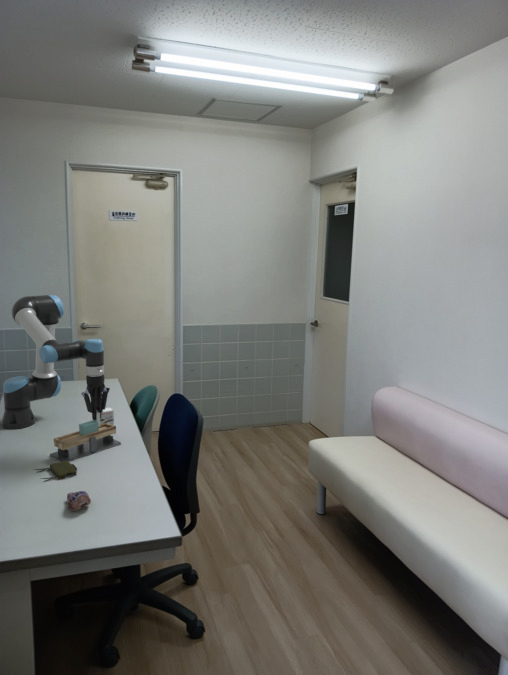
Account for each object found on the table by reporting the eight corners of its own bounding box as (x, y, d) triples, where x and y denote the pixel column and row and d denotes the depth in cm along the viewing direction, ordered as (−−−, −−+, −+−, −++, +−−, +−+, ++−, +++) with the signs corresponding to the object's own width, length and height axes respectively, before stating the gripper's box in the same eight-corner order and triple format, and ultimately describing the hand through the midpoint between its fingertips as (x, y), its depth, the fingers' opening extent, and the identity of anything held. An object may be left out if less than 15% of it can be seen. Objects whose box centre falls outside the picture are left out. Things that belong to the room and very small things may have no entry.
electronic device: (81, 469, 197) (40, 479, 188) (81, 475, 197) (41, 486, 188) (69, 457, 208) (31, 466, 199) (69, 463, 208) (31, 472, 199)
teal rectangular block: (79, 435, 220) (78, 424, 219) (93, 430, 225) (93, 420, 224) (84, 437, 217) (84, 426, 216) (98, 432, 223) (98, 422, 222)
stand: (49, 456, 214) (49, 440, 213) (106, 438, 236) (106, 423, 234) (63, 463, 207) (63, 447, 206) (120, 444, 229) (120, 429, 227)
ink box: (96, 436, 237) (95, 412, 235) (93, 433, 242) (92, 409, 240) (114, 433, 242) (114, 409, 240) (111, 430, 246) (110, 406, 244)
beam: (53, 445, 213) (53, 438, 213) (106, 429, 233) (106, 422, 232) (63, 450, 208) (62, 443, 208) (116, 433, 228) (116, 426, 228)
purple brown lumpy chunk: (62, 501, 177) (61, 484, 176) (84, 495, 181) (83, 479, 180) (70, 516, 167) (70, 499, 166) (94, 510, 171) (93, 493, 170)
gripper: (86, 378, 213) (89, 432, 217) (113, 373, 223) (114, 424, 227) (77, 375, 217) (79, 428, 222) (103, 370, 227) (104, 420, 231)
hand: (97, 426), depth 224 cm, fingers closed
